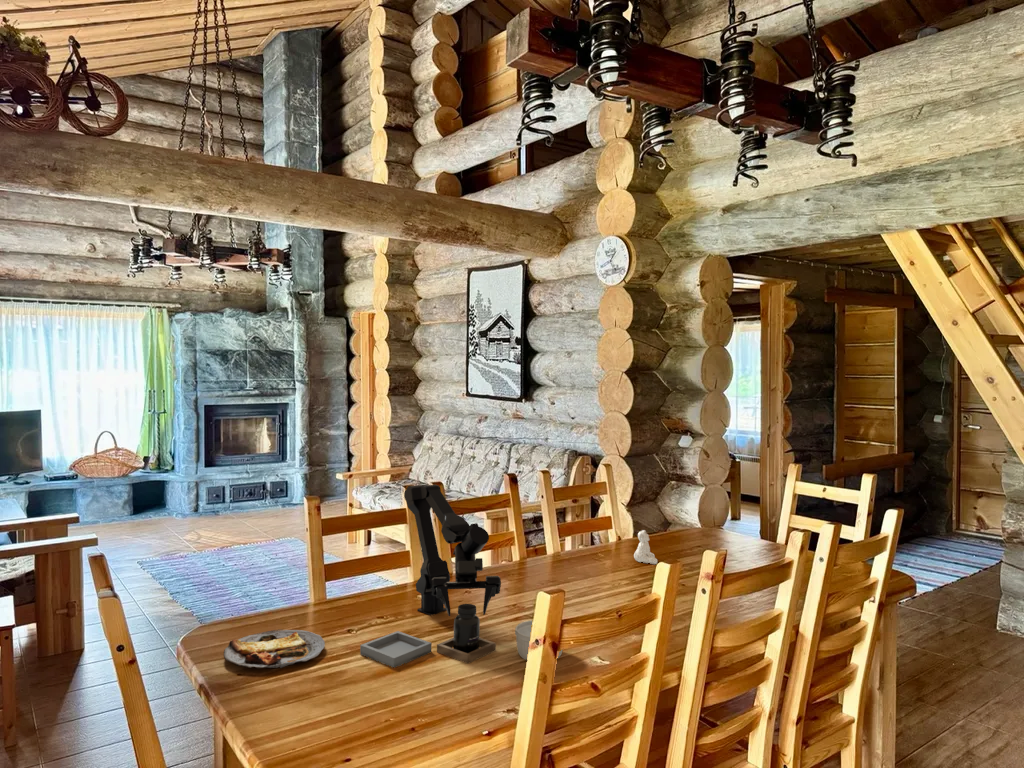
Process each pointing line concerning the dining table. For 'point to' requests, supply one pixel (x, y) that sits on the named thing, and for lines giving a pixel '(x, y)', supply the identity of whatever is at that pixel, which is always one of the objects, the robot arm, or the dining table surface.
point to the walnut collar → (462, 656)
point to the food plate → (273, 648)
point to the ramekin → (524, 638)
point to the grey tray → (395, 649)
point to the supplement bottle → (466, 629)
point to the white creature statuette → (644, 549)
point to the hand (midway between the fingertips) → (466, 614)
